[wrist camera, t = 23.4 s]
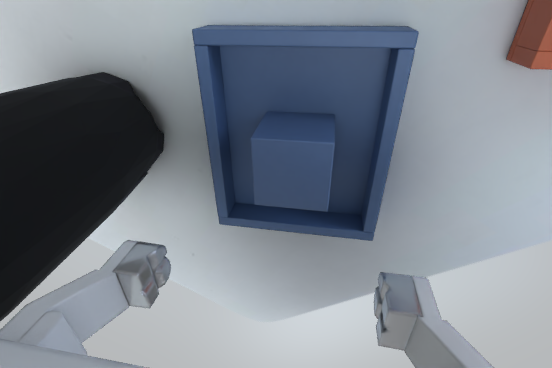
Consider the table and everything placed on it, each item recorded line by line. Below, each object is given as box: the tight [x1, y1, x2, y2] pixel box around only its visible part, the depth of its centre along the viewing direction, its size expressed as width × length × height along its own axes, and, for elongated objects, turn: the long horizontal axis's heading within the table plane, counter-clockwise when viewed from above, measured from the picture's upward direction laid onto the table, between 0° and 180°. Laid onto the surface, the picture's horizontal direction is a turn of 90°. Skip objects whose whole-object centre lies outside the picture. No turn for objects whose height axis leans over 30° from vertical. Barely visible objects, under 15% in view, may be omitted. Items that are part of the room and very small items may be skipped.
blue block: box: [251, 111, 335, 211], centre depth 19 cm, size 4×4×4 cm
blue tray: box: [192, 25, 419, 241], centre depth 20 cm, size 14×12×2 cm
